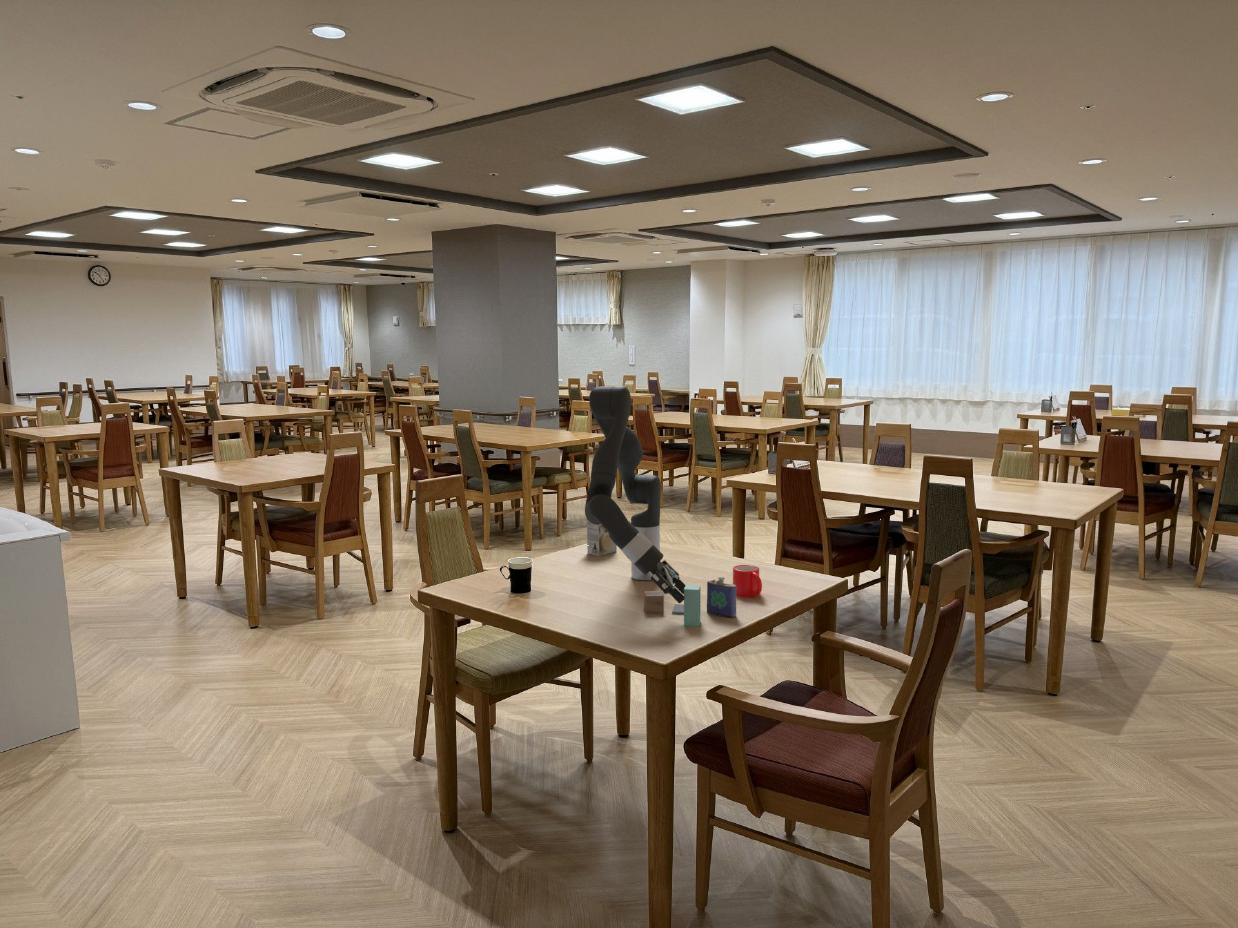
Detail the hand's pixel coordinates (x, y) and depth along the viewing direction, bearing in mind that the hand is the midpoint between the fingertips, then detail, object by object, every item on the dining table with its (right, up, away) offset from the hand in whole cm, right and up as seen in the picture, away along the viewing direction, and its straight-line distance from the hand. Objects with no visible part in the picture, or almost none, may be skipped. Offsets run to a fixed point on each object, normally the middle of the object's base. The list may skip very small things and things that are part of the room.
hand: (684, 596), depth 232 cm
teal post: (+2, -7, +1) cm, 8 cm away
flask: (+11, -7, +8) cm, 15 cm away
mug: (+21, -4, +26) cm, 34 cm away
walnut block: (-8, -6, +13) cm, 16 cm away
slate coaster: (+1, -6, +12) cm, 14 cm away
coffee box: (-24, +3, +81) cm, 84 cm away
